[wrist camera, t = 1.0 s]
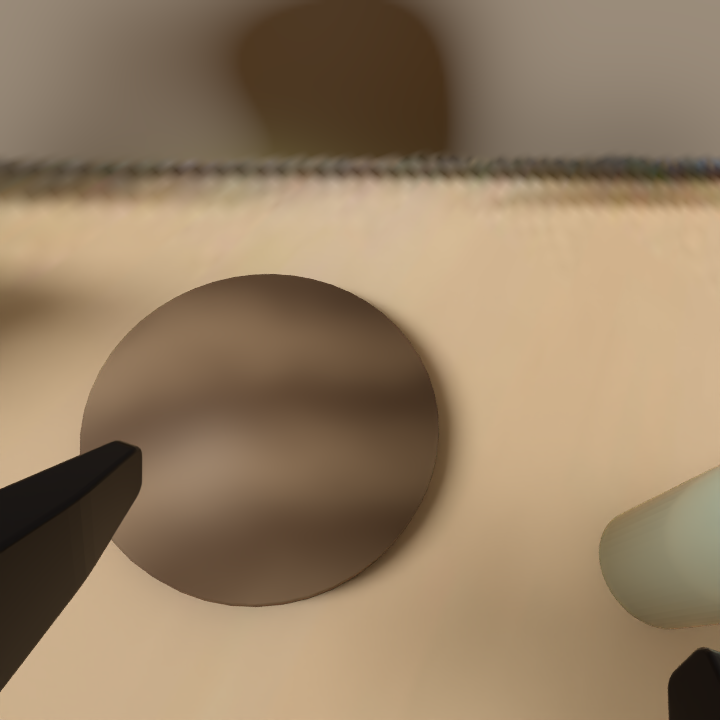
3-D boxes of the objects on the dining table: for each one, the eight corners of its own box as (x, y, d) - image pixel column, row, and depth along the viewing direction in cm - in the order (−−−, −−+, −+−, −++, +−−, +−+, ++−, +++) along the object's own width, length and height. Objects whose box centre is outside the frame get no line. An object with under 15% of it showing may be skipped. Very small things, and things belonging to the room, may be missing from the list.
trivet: (485, 543, 24) (493, 537, 23) (103, 662, 21) (91, 661, 20) (376, 265, 31) (378, 251, 30) (79, 319, 28) (71, 306, 27)
